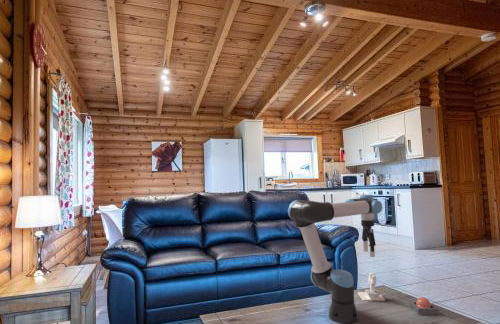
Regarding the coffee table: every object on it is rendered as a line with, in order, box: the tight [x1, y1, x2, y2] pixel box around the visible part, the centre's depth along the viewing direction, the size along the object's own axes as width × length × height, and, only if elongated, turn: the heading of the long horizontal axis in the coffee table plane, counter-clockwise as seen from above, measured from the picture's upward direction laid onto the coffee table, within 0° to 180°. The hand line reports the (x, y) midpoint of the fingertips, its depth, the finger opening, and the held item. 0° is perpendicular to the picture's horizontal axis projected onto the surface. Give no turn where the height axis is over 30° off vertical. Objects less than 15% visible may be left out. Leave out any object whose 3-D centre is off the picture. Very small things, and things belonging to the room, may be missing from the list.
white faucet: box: [364, 271, 381, 299], centre depth 197 cm, size 7×9×15 cm
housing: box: [409, 301, 439, 316], centre depth 178 cm, size 10×10×3 cm
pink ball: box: [415, 296, 432, 308], centre depth 178 cm, size 7×7×7 cm
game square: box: [357, 291, 386, 302], centre depth 200 cm, size 13×13×1 cm
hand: (368, 254), depth 201 cm, fingers open, 13 cm apart
